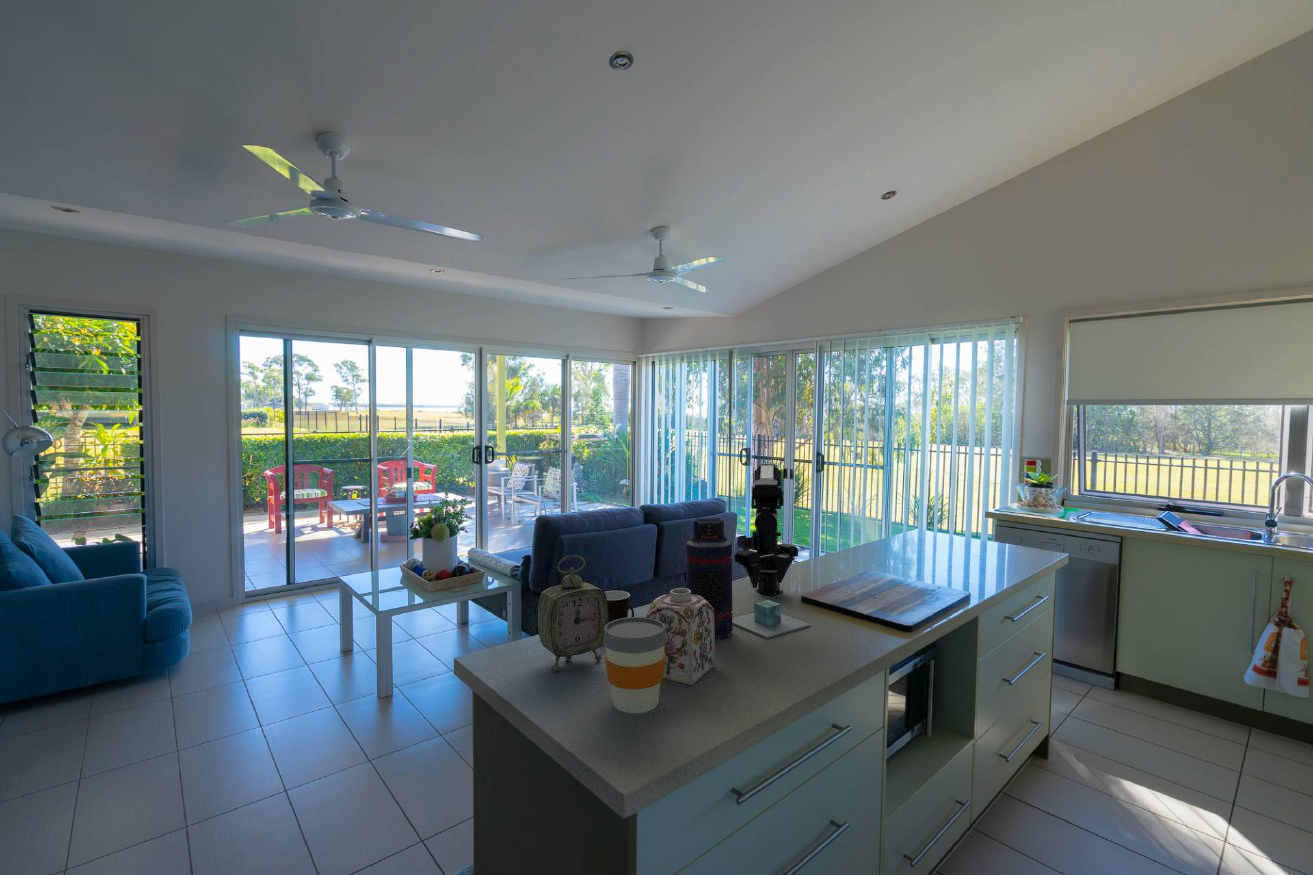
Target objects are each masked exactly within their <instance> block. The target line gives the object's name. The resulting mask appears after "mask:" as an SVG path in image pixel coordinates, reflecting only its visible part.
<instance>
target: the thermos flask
mask: <svg viewBox="0 0 1313 875" xmlns="http://www.w3.org/2000/svg"><path fill="white" fill-rule="evenodd" d="M692 524H693V527H692V528H693V536H692V537H691V538H690V540H688V541H686V543H685V556H686V558H685V567H686V569H685V570H686V573H685V576H686V578H685V579H686V582H685V583H686V589H689V590H691V594H692V595H698V596H701V597H703V598H704V599H705V600H706V601H708V602H709V604H710V605H711V606H712V608H713V609H714V628H715V638H721V640H722V641H725V640H727V639H729V635H730V634H731V633H732V632H733V630H734V628H733V626H734V625H732V618H733V559H732V556H733V549H732V548H733V543H732V541H729V540H727V538H728V535H727V531H726V529H725V526H724V525H725V522H724V520H723V519H721V518H720V517H719V518H718V517H709V518H708V517H703V518H702V517H700V518H699V517H697V518H695V519H694V520H693V523H692Z"/></svg>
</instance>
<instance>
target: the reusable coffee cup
mask: <svg viewBox="0 0 1313 875" xmlns="http://www.w3.org/2000/svg"><path fill="white" fill-rule="evenodd" d="M666 642H667V638H666V630H665V625H664V624H663V623H662V622H661V621H659V620H656V619H652V618H646V616H645V617H643V616H634V617H628V618H622V619H617V620H614V621H611V622H609V623H608V624H606V626H605V628H604V637H603V644H604V645H603V646H604V647H605V648H604V649H605V654H604V664H605V670H606V678H607V682H608V683H609V684H610V691H611V697H612V698H611V699H612V704H613V707H614V708H615V709H616V708H617V709H618V710H617V709H616V710H617V711H619V710H620V711H619V712H622V713H625V712H627V713H626V714H632V713H633V714H643V713H648V712H650V711H652V710H655V708H656V707H657V706H658V704H659V700H660V690H661V682H662V681H663V680H664V679H663V675H664V666H665V657H666V654H665V652H664V647H665V644H666Z"/></svg>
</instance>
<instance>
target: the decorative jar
mask: <svg viewBox="0 0 1313 875" xmlns="http://www.w3.org/2000/svg"><path fill="white" fill-rule="evenodd" d="M645 618H652V619H656V620H659V621H661V622H662V623H663V624H664V625H665V630H666V638H667V642H666V644H665V647H664V652H665V654H666V657H665V666H664V675H663V679H662V680H667V681H671V682H675V683H676V682H677V683H680V684H684V685H689V686H693V685H694V684H695V683H696V682H697V681H698V680H700V679H701V678H702V677H703V676H704V675H706V674H707V673H708V672H710V671H711V670H712V669H713V668H714V667H715V664H716V663H715V662H716V660H715V659H716V655H715V654H716V648H715V647H716V642H715V641H716V640H715V639H716V637H715V628H714V609H713V608H712V606H711V605H710V604H709V602H708V601H706V600H705V599H704V598H703V597H701V596H698V595H692V594H691V590H689V589H686V588H685V587H677V588H673V589H671V590H670V591H669V593H667V594H663V595H661V596H658V597H656V598H655V599H654V600H653V601H652V603H651V605H650V607H649V608H648V610H647V612H646V614H645Z"/></svg>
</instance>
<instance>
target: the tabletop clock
mask: <svg viewBox="0 0 1313 875" xmlns="http://www.w3.org/2000/svg"><path fill="white" fill-rule="evenodd" d="M569 559H580V560H581V561H582V562H583V564H582V566H580V567H579V568H577V569H575V568H574V567H572V566H570V568H569V570H568V571H567V570H562V569H561V568H560V567H561V564H562V563H564V561H566V560H569ZM585 566H586V561H585V558H584V557H583V556H581V555H578V554H573V555H567V556H564V557H563V558H561V559H560V560H559V562H558V563H557V567H556V568H557V571H558V572H560V574H564V575H565V576H564V577H563V578H562V580H560V581H561V582H560V584H559V585H555V586H551V587H548V588H546V589H544V590H543V591H541V593H540V595H539V600H538V605H537V606H538V607H537V628H538V629H537V631H538V636H539V641H540V643H541V645H542V646H543V647H544V648H545V649H546V650H548V651H549V652H551V654H553V655H554V656H556V657H555V664H553V665H552V667H551V670H552V672H553V671H554V673H558V672H559V670H560V665H559V661H560V658H565V660H566V659H567V660H566V661H570V659H571V660H572V657H573V656H578V655H583V654H585V653H589V652H593V654H594V660H596V661H597V662H600V661H601V660H602V658H603V657H602V654H601V653H598V652H597V649H600V648H601V647H602V646H604V644H603V637H604V628H605V626H606V624H608V620H609V614H608V603H607V597H606V594H605V592H606V591H605V590H603V589H601V588H599V587H598V586H595V585H593V584H591V583H588V582H583V579H582V578H581V577H580V576H579V575H577V573H579V572H581V571H582V570H583V569H584V568H585Z"/></svg>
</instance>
